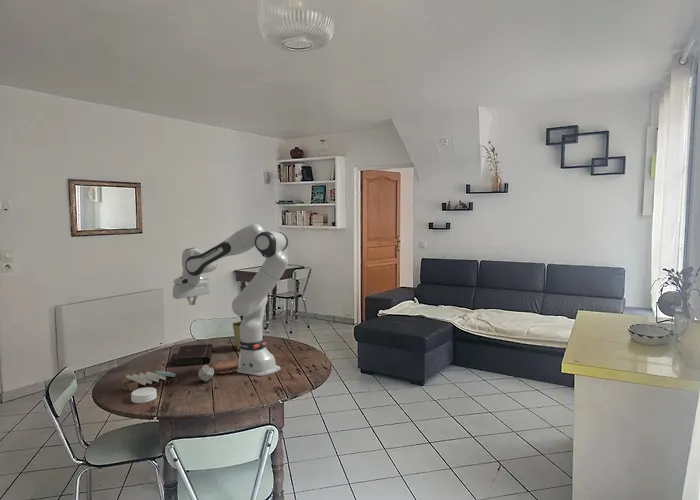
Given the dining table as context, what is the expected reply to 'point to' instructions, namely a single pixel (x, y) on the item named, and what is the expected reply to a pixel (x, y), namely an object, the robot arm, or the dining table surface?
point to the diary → (193, 355)
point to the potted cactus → (237, 332)
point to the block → (130, 385)
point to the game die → (205, 373)
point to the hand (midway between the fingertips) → (192, 304)
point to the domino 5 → (165, 373)
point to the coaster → (143, 395)
